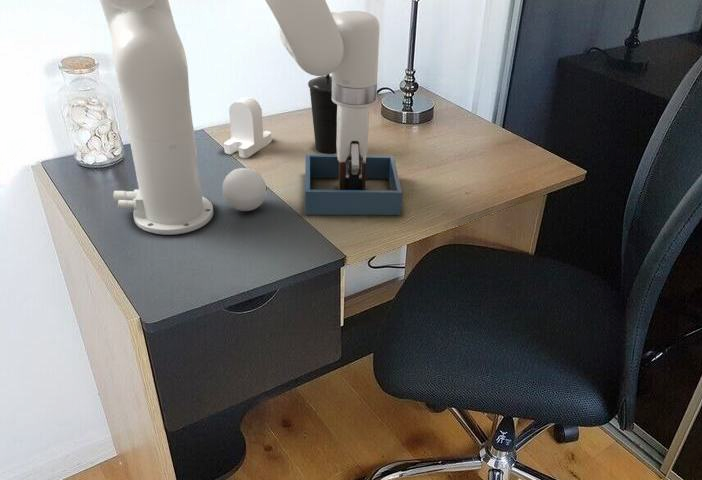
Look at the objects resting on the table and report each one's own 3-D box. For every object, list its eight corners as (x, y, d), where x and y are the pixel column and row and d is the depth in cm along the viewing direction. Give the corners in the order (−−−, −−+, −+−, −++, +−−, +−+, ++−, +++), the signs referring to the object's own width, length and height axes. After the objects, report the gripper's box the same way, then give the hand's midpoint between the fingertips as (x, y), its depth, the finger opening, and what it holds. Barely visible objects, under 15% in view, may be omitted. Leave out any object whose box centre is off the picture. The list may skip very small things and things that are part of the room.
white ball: (274, 214, 112) (272, 175, 108) (232, 222, 109) (228, 183, 105) (254, 188, 119) (252, 151, 115) (214, 195, 116) (210, 157, 111)
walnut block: (339, 200, 118) (339, 163, 113) (338, 188, 121) (339, 151, 117) (364, 201, 118) (366, 163, 114) (363, 189, 122) (364, 152, 118)
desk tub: (305, 214, 113) (305, 191, 110) (306, 176, 125) (305, 154, 122) (400, 215, 115) (402, 192, 113) (392, 177, 127) (393, 156, 124)
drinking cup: (348, 142, 138) (351, 47, 127) (342, 158, 132) (344, 58, 120) (313, 138, 139) (312, 42, 127) (305, 153, 132) (303, 54, 121)
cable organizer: (223, 152, 130) (218, 104, 124) (250, 135, 138) (247, 89, 132) (246, 158, 129) (242, 109, 123) (272, 140, 136) (270, 94, 130)
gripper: (330, 73, 115) (330, 164, 125) (333, 110, 101) (332, 210, 111) (372, 74, 116) (369, 165, 126) (381, 112, 102) (376, 210, 112)
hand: (351, 185), depth 119 cm, fingers open, 7 cm apart
